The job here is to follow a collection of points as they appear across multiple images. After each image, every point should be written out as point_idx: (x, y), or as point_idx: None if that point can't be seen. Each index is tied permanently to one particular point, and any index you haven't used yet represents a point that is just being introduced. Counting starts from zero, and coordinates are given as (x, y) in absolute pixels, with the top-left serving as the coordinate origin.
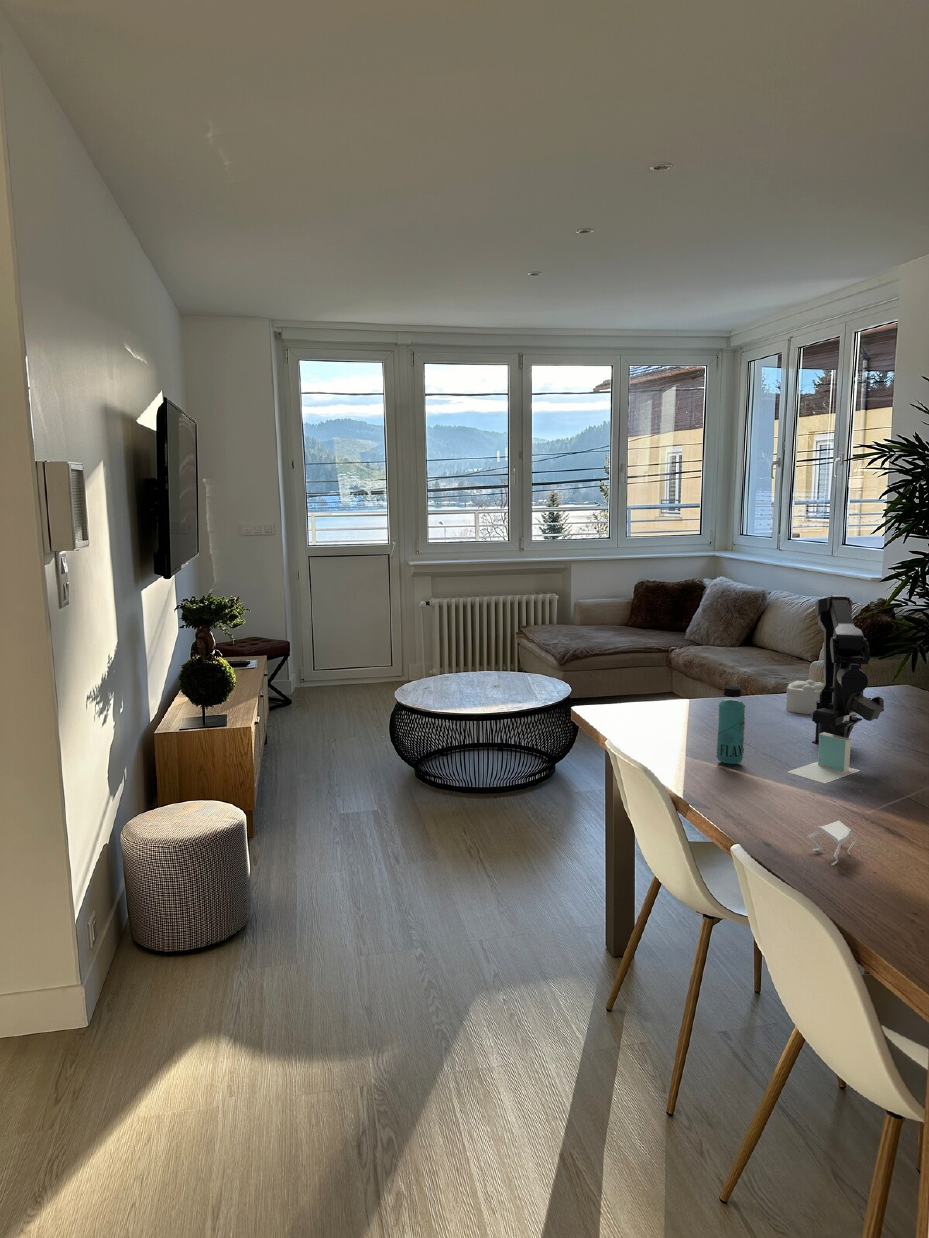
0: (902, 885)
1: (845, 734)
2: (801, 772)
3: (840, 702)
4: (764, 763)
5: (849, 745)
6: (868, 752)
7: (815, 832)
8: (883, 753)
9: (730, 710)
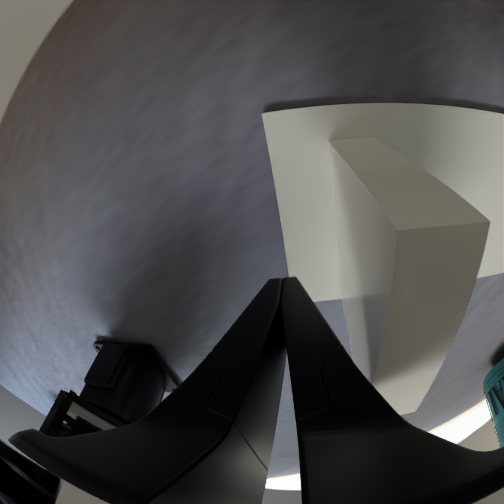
0: None
1: (321, 349)
2: (491, 244)
3: None
4: (453, 348)
5: (391, 193)
6: (64, 277)
7: None
8: (33, 249)
9: None
